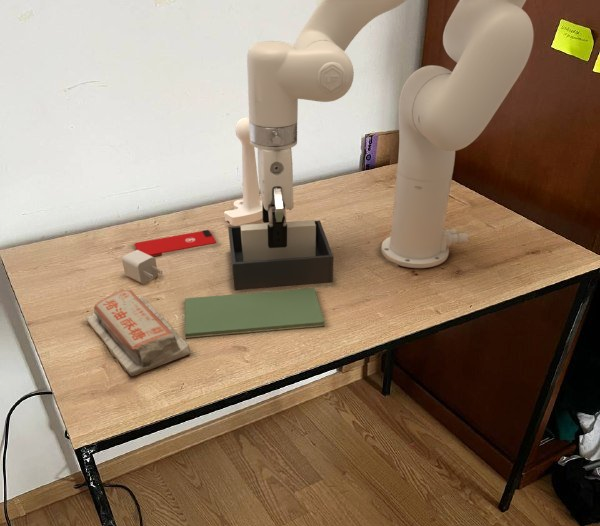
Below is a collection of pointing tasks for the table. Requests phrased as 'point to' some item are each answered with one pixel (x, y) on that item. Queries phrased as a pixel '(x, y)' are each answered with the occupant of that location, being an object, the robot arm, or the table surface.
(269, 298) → the mat
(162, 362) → the packaged product
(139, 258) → the usb wall charger
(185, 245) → the electronic device
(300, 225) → the board
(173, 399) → the table surface
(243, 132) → the joystick
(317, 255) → the bin
